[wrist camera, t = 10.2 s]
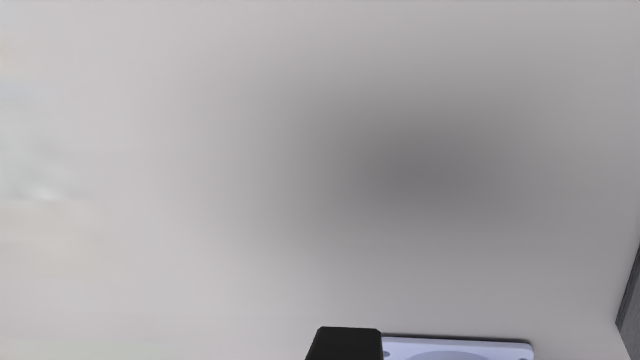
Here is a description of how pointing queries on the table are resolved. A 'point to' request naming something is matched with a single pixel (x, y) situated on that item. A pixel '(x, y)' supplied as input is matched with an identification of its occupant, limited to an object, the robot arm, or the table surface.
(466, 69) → the table surface
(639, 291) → the grey compartment tray
